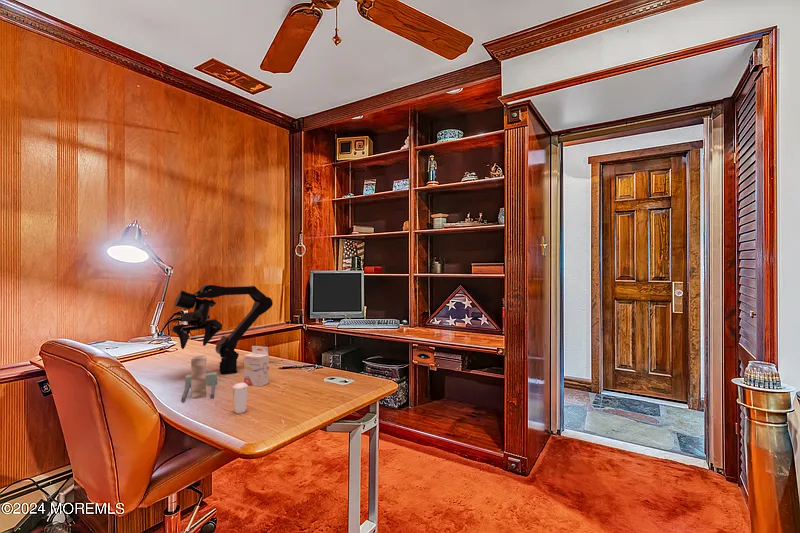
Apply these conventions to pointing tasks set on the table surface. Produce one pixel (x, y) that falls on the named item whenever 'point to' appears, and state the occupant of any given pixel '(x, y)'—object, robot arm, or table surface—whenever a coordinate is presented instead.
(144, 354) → the table surface
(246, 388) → the milkshake
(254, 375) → the ink cartridge box
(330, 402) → the table surface
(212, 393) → the guide track
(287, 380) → the table surface
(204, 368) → the post
